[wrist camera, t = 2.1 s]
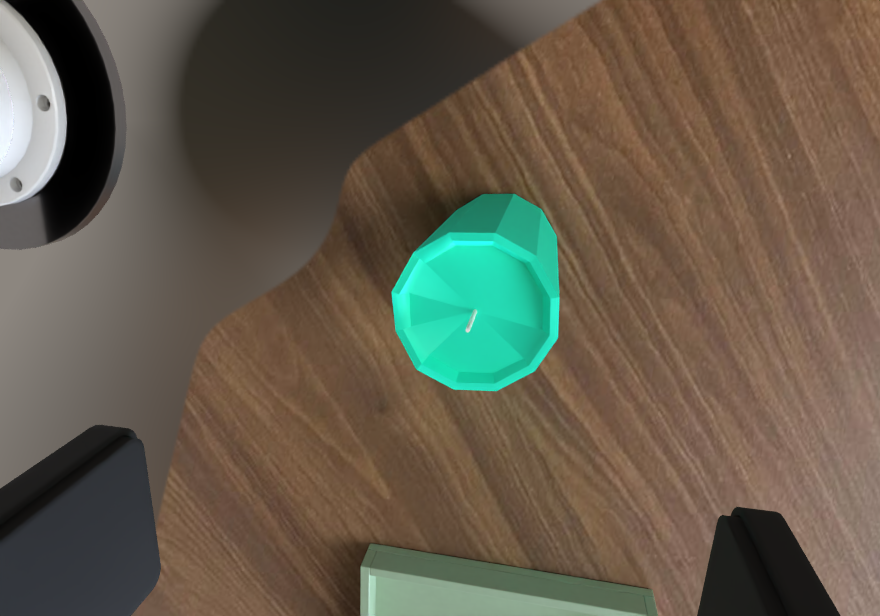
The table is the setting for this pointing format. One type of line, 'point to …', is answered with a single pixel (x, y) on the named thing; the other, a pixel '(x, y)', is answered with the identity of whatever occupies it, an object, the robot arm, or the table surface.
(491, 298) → the candle
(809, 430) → the table surface
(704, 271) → the table surface
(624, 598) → the tray
